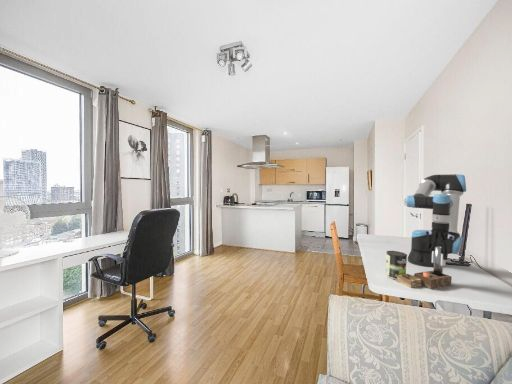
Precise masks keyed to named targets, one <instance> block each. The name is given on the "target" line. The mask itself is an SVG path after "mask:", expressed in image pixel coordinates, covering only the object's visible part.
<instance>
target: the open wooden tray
mask: <svg viewBox="0 0 512 384" xmlns="http://www.w3.org/2000/svg"><path fill="white" fill-rule="evenodd" d="M396 282H398V283H400V284H402V285H404V286H406V287H408V288H417V287H422V279H420V278H417V277H415V276H414V275H412V274H409V273H406V274H402V275H397V280H396Z"/></svg>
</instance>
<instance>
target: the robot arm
mask: <svg viewBox="0 0 512 384" xmlns="http://www.w3.org/2000/svg"><path fill="white" fill-rule="evenodd" d="M466 184H467V183H466V177H465V175H464V174H454V173H453V174H431V175H429V176H426V177H424V178H423V179H422V180H421V181H420V182H419V184H418V188H417V190H416V191H415V193H414V194H413V195H407V196H406V200H405V205H406V207H408V208H412V209H426V210H427V209H428V210H432V214H431V215H432V216H431V221H432V222H431V230H430V229H415V230H413V231H412V232H411V246H410V248H411V249H410V252H409V254H408V255H407V262H409V263H411V264H413V265H417V266H421V267H434V249H435V246H440V247H442V251H443V253H441V266H443V267H444V266H446V264H447V263H446V260H448V255H450V254H452V255H458V254H459V253H460V251H461V248H462V245H463V244H462V243H463V241H464V240H463V239H464V238H463V237H462V236H461V234H460V232H458V223H459V222H458V221H459V213H460V211H459V210H460V200H461V196H463V195H464V193H465V192H467V185H466ZM433 191H437V192H438V191H439V192H440V193H436V194H434V195H433V196H430V195H431V194H432V192H433Z"/></svg>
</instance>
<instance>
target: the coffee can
mask: <svg viewBox="0 0 512 384" xmlns="http://www.w3.org/2000/svg"><path fill="white" fill-rule="evenodd" d="M385 260H386V265H385V276H386V277H387V278H389V279H393V280H395V281H397V275H402V274H407V262H408V254H406V253H405V252H401V251H396V250H387V251H386V259H385Z"/></svg>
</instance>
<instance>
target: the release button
mask: <svg viewBox="0 0 512 384" xmlns="http://www.w3.org/2000/svg"><path fill="white" fill-rule="evenodd" d="M422 272H423V276H424V277H427V278H430V273H427V271H422Z"/></svg>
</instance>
